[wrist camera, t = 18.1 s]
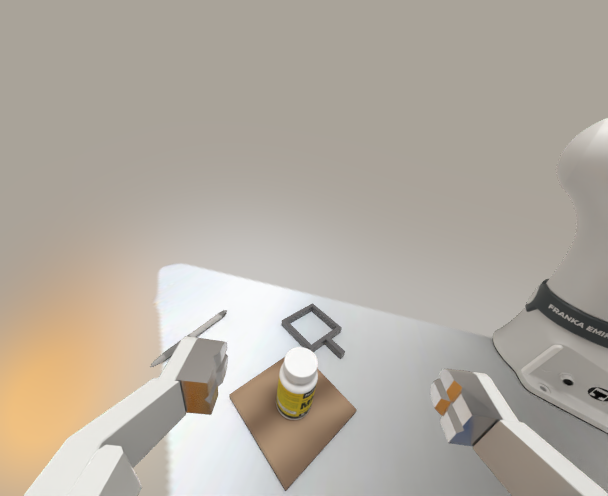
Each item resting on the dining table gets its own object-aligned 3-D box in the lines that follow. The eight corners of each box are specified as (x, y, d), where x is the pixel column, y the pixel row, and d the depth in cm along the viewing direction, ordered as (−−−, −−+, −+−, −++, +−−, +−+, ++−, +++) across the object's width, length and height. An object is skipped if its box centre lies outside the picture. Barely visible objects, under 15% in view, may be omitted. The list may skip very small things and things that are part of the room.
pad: (355, 412, 33) (356, 409, 32) (285, 490, 25) (286, 488, 25) (297, 350, 40) (297, 348, 40) (229, 397, 32) (229, 394, 32)
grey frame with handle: (355, 345, 42) (357, 341, 42) (326, 370, 37) (327, 365, 37) (311, 307, 49) (312, 303, 48) (281, 324, 44) (282, 320, 44)
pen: (228, 315, 45) (228, 309, 44) (153, 373, 34) (151, 366, 34) (224, 313, 45) (224, 307, 45) (149, 369, 35) (147, 362, 34)
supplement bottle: (301, 429, 30) (310, 389, 25) (268, 408, 31) (272, 368, 27) (316, 394, 33) (327, 354, 29) (287, 377, 35) (292, 337, 31)
